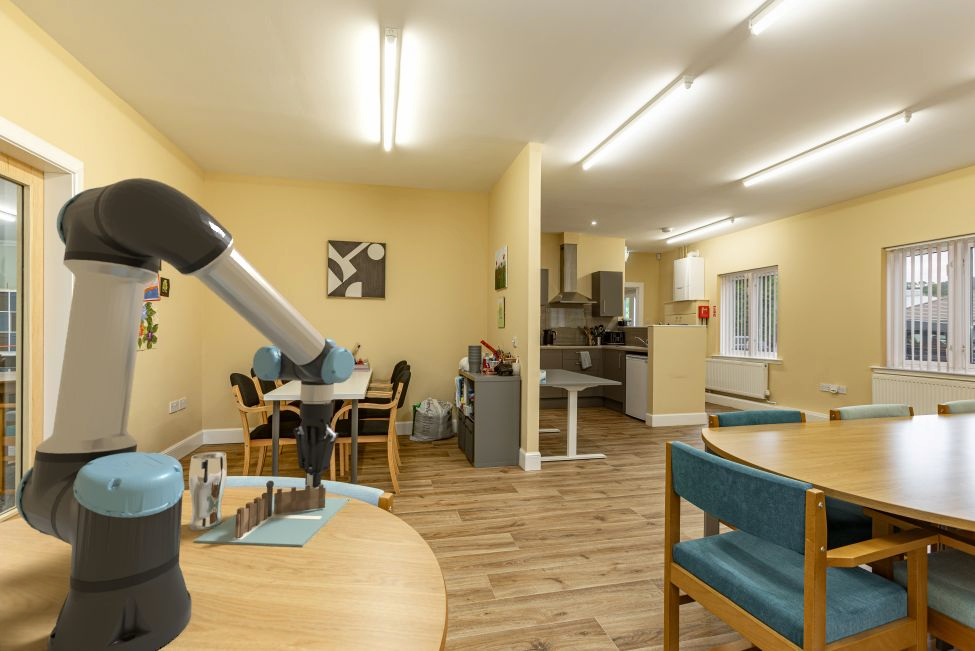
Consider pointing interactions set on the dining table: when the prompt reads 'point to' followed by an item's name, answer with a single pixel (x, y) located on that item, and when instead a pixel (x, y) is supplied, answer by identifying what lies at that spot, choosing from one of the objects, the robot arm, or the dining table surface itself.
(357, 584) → the dining table surface
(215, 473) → the beer glass
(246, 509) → the fence fixed
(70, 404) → the robot arm
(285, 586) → the dining table surface
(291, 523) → the board
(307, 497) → the fence panel
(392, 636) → the dining table surface
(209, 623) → the dining table surface
